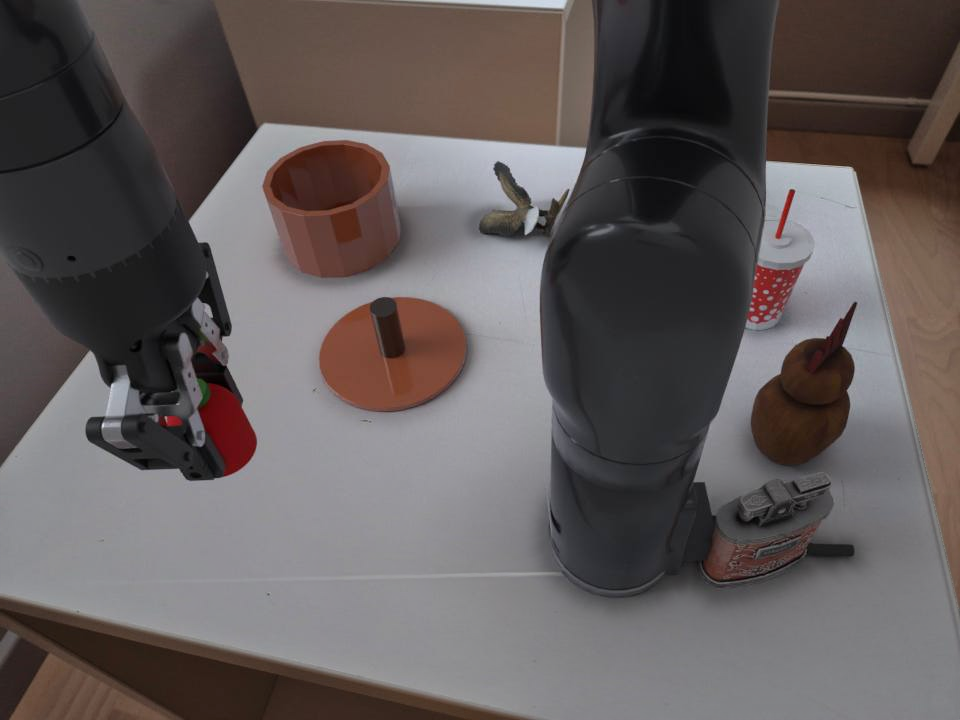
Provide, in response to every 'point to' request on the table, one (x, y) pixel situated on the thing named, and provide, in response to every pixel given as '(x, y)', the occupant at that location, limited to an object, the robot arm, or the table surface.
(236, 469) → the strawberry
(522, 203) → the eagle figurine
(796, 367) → the wooden figurine
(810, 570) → the table surface
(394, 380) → the lid
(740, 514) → the lighter
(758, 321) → the beverage cup
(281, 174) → the pot
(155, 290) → the robot arm
